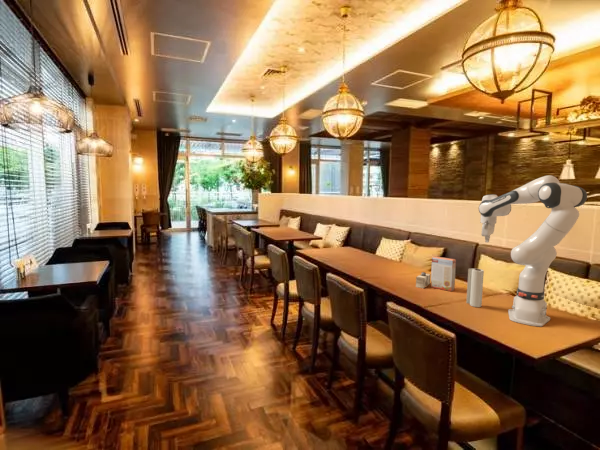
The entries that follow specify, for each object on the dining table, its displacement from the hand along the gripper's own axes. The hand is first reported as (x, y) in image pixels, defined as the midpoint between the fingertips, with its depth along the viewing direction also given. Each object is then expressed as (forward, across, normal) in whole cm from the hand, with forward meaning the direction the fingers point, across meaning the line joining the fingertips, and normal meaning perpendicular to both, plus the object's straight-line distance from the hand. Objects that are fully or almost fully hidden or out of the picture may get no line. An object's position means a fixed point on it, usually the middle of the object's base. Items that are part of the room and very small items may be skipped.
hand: (487, 242), depth 217 cm
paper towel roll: (+34, -27, 0) cm, 43 cm away
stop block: (+33, -5, +37) cm, 50 cm away
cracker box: (+34, -4, +25) cm, 42 cm away
